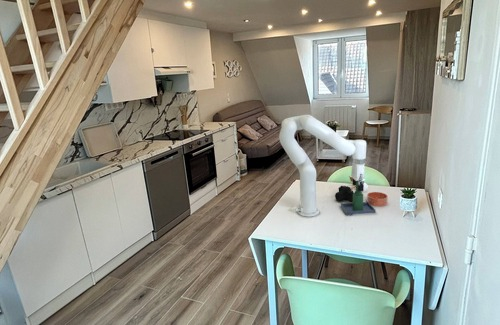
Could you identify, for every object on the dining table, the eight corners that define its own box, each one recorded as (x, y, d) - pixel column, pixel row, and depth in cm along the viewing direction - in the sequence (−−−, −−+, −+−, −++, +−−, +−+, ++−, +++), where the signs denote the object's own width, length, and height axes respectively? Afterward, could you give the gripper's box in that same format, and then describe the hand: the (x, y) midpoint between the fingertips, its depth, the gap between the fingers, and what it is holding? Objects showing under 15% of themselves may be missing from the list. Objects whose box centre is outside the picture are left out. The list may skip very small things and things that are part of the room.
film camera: (330, 197, 213) (330, 184, 210) (343, 194, 215) (343, 182, 212) (343, 205, 198) (343, 192, 196) (356, 202, 201) (356, 189, 198)
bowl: (371, 208, 192) (371, 199, 190) (364, 200, 204) (364, 192, 202) (390, 206, 192) (391, 198, 190) (382, 199, 203) (382, 191, 202)
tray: (346, 215, 185) (346, 211, 184) (340, 206, 196) (340, 203, 196) (375, 213, 184) (375, 209, 184) (367, 205, 196) (368, 201, 195)
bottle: (354, 211, 187) (355, 184, 183) (351, 207, 193) (351, 181, 188) (364, 211, 187) (365, 183, 182) (360, 207, 193) (361, 180, 188)
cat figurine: (367, 180, 211) (350, 169, 226) (354, 190, 210) (338, 179, 225) (372, 192, 218) (356, 180, 233) (360, 202, 217) (344, 190, 232)
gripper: (348, 157, 190) (347, 183, 195) (357, 165, 173) (356, 193, 178) (360, 156, 190) (359, 182, 195) (370, 164, 173) (369, 193, 178)
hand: (357, 188), depth 186 cm, fingers open, 9 cm apart
